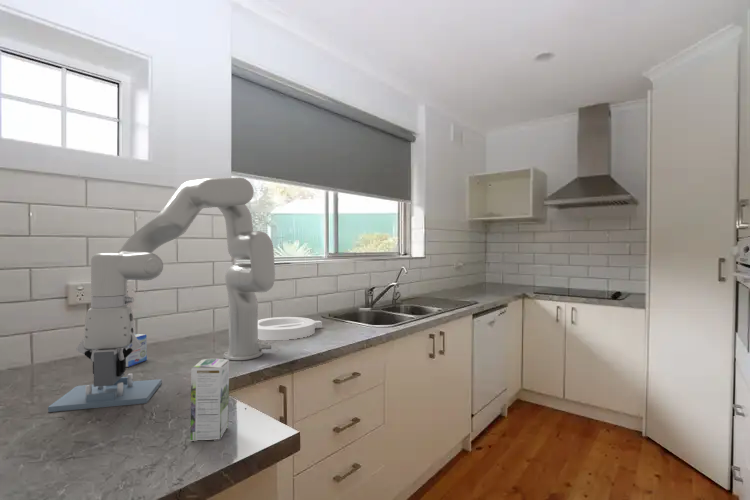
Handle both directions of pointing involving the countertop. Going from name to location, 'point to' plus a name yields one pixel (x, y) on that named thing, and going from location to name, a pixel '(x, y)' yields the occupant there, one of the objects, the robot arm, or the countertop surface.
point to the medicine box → (138, 351)
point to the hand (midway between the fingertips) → (109, 374)
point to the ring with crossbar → (286, 328)
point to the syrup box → (209, 399)
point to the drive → (105, 367)
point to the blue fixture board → (107, 395)
